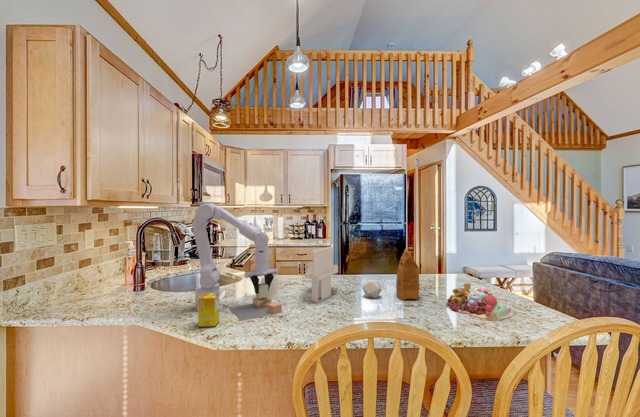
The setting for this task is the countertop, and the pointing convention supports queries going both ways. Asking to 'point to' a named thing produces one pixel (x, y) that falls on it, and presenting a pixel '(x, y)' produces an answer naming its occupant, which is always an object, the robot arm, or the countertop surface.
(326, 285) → the upright slab stand
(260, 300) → the base block
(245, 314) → the mat
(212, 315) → the supplement box
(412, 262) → the coffee package
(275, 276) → the white cup
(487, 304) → the dessert platter
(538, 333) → the countertop surface
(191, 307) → the countertop surface
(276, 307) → the block
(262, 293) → the sage block
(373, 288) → the die
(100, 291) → the countertop surface
